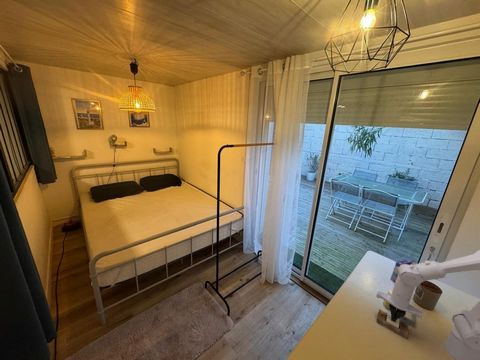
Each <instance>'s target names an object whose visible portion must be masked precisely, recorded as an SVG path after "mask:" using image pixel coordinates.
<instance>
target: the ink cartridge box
mask: <svg viewBox="0 0 480 360" xmlns="http://www.w3.org/2000/svg"><path fill="white" fill-rule="evenodd" d="M403 264H407V265H411V264H413V265H414V264H416V263H415V260H413V261H412V260H410V259H408V258H407V259H403V260H400V261H399V260H398V261H396V262H395V264H394V267H393V270H392V274H391V277H390V281H391V282H392V283H394V284H395V282H396V279H397V277H398V274H399V273H398V271H397V267H400V265H403Z"/></svg>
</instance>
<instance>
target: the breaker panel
mask: <svg viewBox="0 0 480 360" xmlns="http://www.w3.org/2000/svg"><path fill="white" fill-rule="evenodd" d="M387 314H388V313H387V312H386V311H383V310H381V309H380V308H379V309H378V311H377V316H376V323H377V324H378V325H380V326H383V327H384V328H385V329H388V330H390V331H391V332H393V333H395V334H396V335H399V336H400V337H402V338H404V339H405V340H407V339H408V336H409V325H408V324H407V323H405V322H403V321H401V320H399V328H397V327H395V326H393V325H391V324H390V323H388V322H386V317H387Z"/></svg>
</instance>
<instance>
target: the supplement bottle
mask: <svg viewBox="0 0 480 360" xmlns="http://www.w3.org/2000/svg"><path fill="white" fill-rule="evenodd" d="M392 291H393V288H392V289H390V288H389V289H388V290H387V292H386V294H389V295H391V294H392ZM382 304H383V305H382V306H383V307H384V309H386V310H387V311H390V309H389V302H387V301H386V300H383V302H382Z"/></svg>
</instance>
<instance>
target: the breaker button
mask: <svg viewBox="0 0 480 360" xmlns="http://www.w3.org/2000/svg"><path fill="white" fill-rule="evenodd" d="M385 321H386V322H388V323H390V324H391V325H393V326H395V327H397V328H399V319H397V320H396V322H393V321H391V313H390V314H389V313H387V317H386V318H385Z"/></svg>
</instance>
